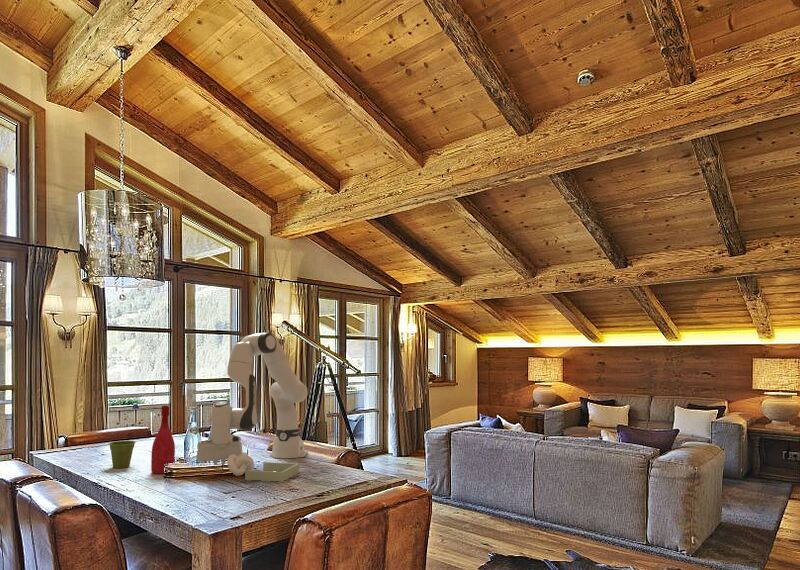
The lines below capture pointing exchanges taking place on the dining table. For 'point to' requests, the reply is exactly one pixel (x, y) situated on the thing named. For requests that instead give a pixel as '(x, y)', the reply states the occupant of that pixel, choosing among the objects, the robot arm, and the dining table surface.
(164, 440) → the wine bottle
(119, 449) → the plant pot
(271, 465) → the frame
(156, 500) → the dining table surface
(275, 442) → the robot arm
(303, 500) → the dining table surface
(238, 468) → the cream lumpy rounded piece
